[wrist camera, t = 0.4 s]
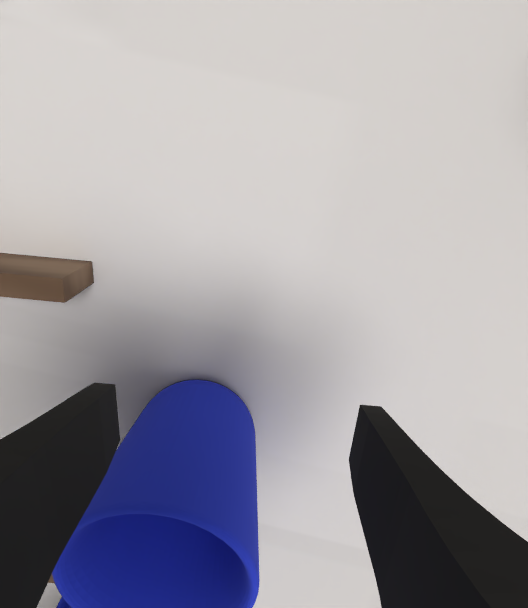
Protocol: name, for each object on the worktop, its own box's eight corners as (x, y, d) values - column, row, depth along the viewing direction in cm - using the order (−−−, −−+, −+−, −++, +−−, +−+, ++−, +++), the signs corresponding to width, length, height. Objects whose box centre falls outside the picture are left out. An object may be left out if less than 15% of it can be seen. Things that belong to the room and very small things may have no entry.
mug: (78, 448, 25) (-37, 620, 16) (195, 336, 22) (133, 471, 12) (172, 513, 27) (118, 698, 18) (293, 419, 24) (303, 589, 14)
